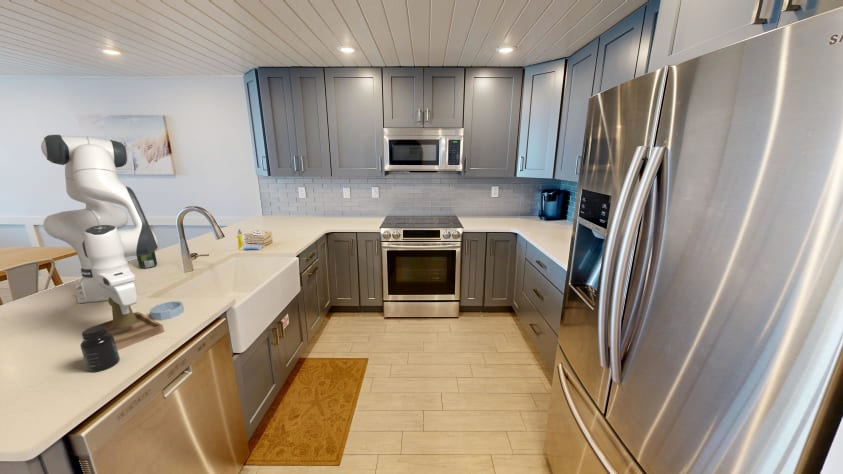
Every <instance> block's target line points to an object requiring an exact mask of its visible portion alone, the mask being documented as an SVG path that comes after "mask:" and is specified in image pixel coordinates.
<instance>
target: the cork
mask: <svg viewBox="0 0 843 474" xmlns="http://www.w3.org/2000/svg"><path fill="white" fill-rule="evenodd" d="M107 301H108V304H109V305H110V306H111V313H112V320H113V326H114V328H124V327H128V326H130V325H133V324H135V323H136V322H137V320H136V317H135V315H134V313H135V312H134V311H133V309H132V307H131V305H130V306H129V313H128V314H125V315H123V314H121V311H120V309H121V308H120V306H119V304H117V303H115V302H114V301H113V300H112V298H109V299H108V300H107Z"/></svg>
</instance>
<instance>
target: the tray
mask: <svg viewBox="0 0 843 474" xmlns="http://www.w3.org/2000/svg"><path fill="white" fill-rule="evenodd" d="M133 313H134V315H135V317H136V320H137V322H136V323H135V324H133V325H130V326H128V327H124V328H114V326H113V319H112V320H108V321H104V322H102V323H99V324H95V325H92V326H89V327H87V328H86V329H89V328H92V327H95V326H105V327H106V330H107V333H110V334H112V335H113V337H114V340H115V343H116V347H117V350H118V351H120V350H122V349H124V348H126V347H130V346H132V345H134V344H137V343H140V342H142V341H145V340H147V339H149V338H152V337H154V336H158V335H159V334H162V333H164V332H165V330H164V326H163V325H164V324H161V323H159V322H157V320H154V319H152V318H150V317H149V316H147V315H145V314H143V313H142V312H139V311H136V312H133Z"/></svg>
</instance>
